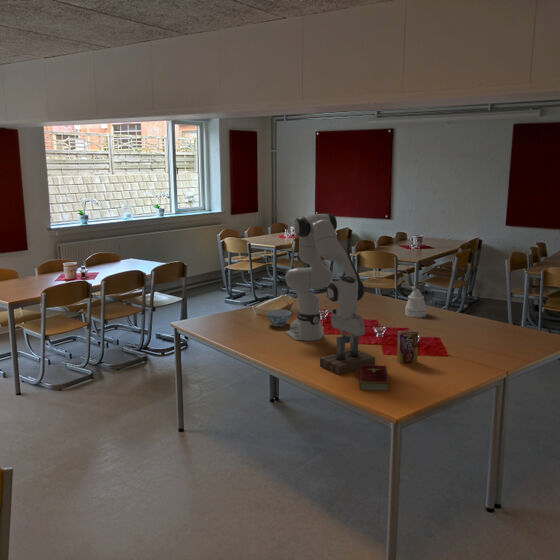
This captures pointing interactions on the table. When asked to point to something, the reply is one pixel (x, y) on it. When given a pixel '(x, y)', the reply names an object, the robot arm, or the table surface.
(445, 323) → the table surface
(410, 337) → the candy box
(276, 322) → the chinaware
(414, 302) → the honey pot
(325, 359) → the wooden board with holes
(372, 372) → the hardcover book
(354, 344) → the grey u-shaped block
